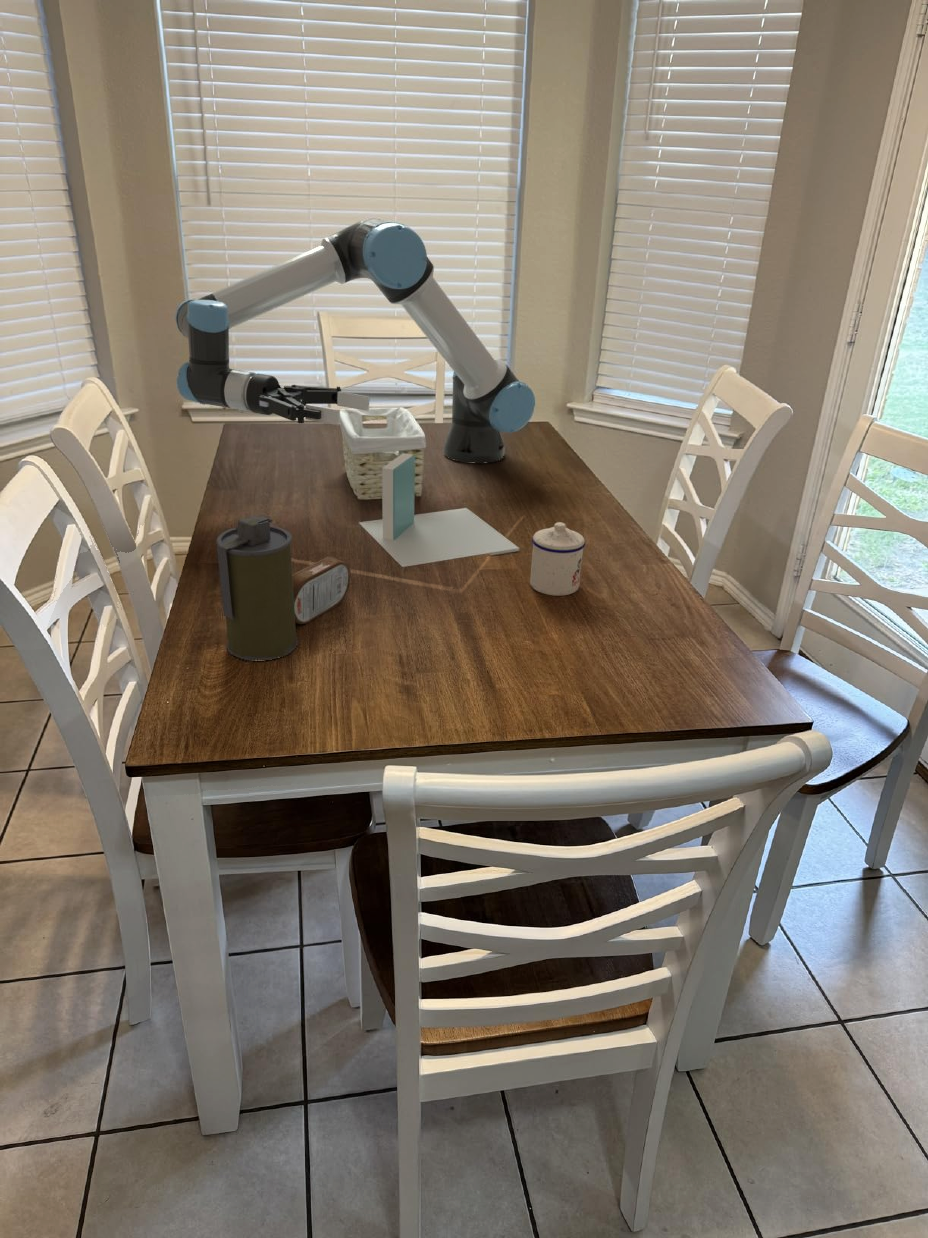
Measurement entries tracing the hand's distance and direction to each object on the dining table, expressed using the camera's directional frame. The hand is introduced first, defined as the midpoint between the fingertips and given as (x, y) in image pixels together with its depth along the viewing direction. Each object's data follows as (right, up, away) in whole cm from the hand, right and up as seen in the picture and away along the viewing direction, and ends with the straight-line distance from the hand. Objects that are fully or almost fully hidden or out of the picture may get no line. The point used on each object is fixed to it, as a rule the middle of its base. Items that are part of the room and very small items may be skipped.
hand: (354, 410), depth 166 cm
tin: (-3, -39, -24) cm, 46 cm away
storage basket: (+2, -9, +32) cm, 34 cm away
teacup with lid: (+37, -33, -10) cm, 50 cm away
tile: (+8, -22, +7) cm, 24 cm away
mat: (+15, -24, +6) cm, 29 cm away
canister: (-10, -44, -34) cm, 56 cm away
